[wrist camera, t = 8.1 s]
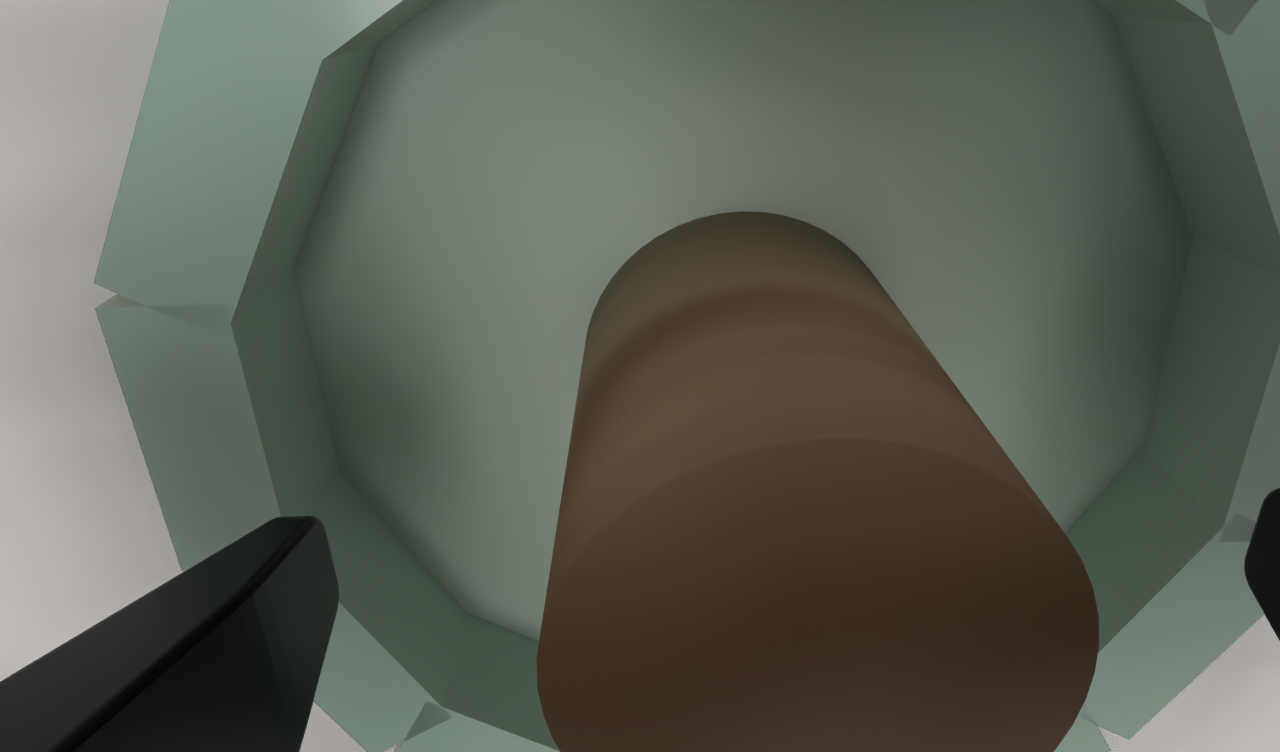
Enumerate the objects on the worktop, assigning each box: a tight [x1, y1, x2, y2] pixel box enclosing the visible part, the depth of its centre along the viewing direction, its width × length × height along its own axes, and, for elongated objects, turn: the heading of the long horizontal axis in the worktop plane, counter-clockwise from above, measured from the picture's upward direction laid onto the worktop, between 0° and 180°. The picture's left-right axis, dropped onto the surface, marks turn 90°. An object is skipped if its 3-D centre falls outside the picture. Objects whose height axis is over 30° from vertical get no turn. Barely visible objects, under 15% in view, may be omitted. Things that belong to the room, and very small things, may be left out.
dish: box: [94, 0, 1280, 752], centre depth 12 cm, size 15×15×3 cm
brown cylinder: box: [536, 211, 1099, 752], centre depth 10 cm, size 4×4×6 cm
